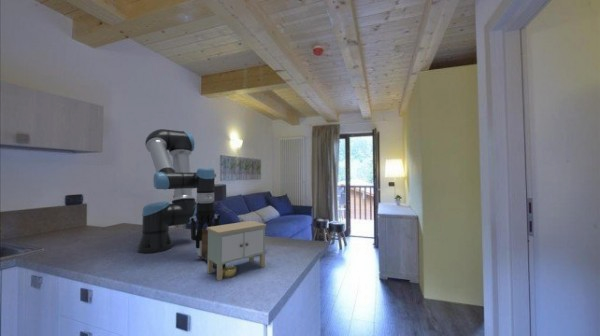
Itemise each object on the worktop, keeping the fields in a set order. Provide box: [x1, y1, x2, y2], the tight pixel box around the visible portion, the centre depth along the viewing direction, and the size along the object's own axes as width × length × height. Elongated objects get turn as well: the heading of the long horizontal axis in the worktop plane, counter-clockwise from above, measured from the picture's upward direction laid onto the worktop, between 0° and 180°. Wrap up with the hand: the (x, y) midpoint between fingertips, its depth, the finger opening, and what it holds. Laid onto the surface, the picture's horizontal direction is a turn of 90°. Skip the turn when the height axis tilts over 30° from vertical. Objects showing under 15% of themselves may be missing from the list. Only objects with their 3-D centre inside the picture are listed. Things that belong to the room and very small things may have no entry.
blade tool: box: [198, 228, 227, 268], centre depth 104 cm, size 20×4×12 cm, turn 43°
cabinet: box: [206, 220, 267, 282], centre depth 98 cm, size 12×21×18 cm, turn 133°
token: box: [222, 265, 237, 279], centre depth 93 cm, size 6×6×2 cm
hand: (204, 253), depth 109 cm, fingers closed on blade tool, 4 cm apart
